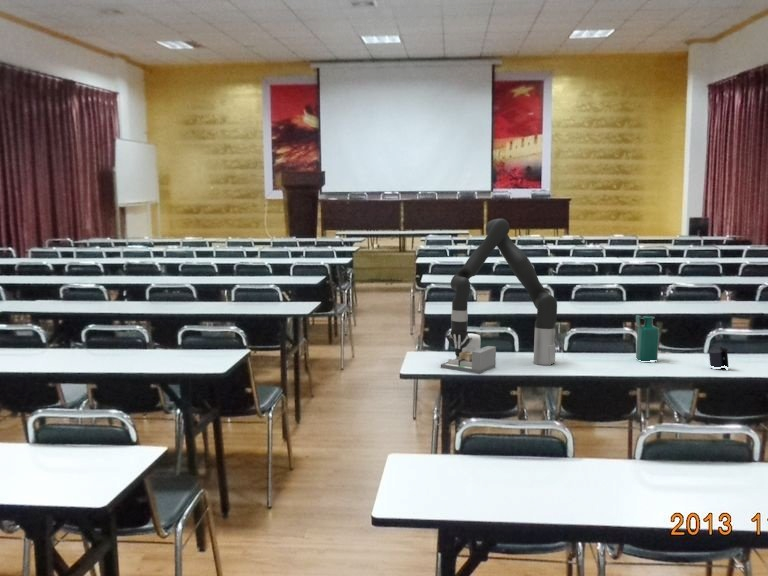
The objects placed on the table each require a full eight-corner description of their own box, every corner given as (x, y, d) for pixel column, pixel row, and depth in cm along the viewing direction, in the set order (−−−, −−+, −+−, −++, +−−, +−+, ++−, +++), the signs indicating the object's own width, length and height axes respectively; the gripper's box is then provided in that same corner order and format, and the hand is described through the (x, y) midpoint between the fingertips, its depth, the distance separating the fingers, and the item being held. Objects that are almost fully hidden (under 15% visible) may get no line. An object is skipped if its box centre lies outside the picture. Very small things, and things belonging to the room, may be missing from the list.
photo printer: (478, 357, 348) (479, 332, 346) (481, 359, 344) (481, 334, 342) (458, 357, 346) (458, 333, 345) (460, 359, 342) (460, 334, 341)
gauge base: (495, 367, 328) (496, 346, 326) (479, 373, 314) (480, 352, 313) (457, 361, 339) (457, 341, 338) (440, 367, 326) (441, 347, 324)
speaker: (726, 367, 330) (725, 345, 329) (728, 370, 325) (728, 348, 323) (708, 367, 332) (708, 346, 331) (710, 371, 327) (710, 349, 325)
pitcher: (652, 358, 348) (654, 314, 346) (658, 362, 340) (661, 317, 337) (632, 358, 348) (634, 314, 346) (638, 362, 340) (640, 317, 337)
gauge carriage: (474, 362, 328) (474, 352, 327) (463, 367, 319) (464, 356, 318) (464, 361, 330) (465, 350, 330) (454, 365, 322) (454, 354, 321)
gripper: (476, 320, 326) (475, 356, 328) (450, 317, 334) (450, 353, 336) (468, 322, 320) (467, 359, 322) (442, 319, 328) (442, 355, 330)
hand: (458, 356), depth 329 cm, fingers closed
